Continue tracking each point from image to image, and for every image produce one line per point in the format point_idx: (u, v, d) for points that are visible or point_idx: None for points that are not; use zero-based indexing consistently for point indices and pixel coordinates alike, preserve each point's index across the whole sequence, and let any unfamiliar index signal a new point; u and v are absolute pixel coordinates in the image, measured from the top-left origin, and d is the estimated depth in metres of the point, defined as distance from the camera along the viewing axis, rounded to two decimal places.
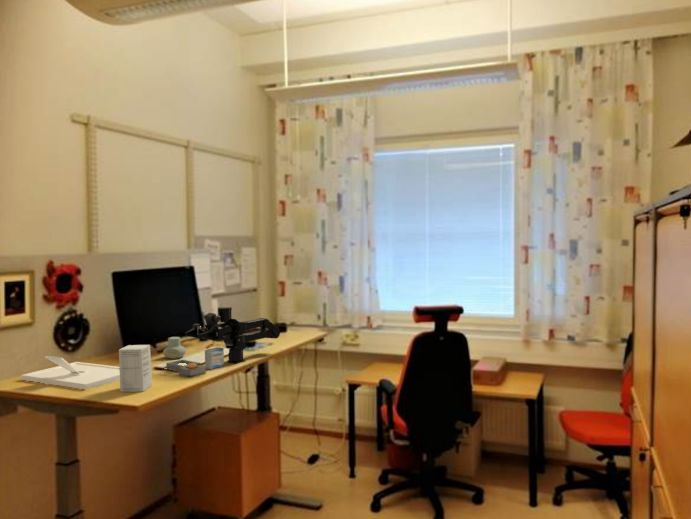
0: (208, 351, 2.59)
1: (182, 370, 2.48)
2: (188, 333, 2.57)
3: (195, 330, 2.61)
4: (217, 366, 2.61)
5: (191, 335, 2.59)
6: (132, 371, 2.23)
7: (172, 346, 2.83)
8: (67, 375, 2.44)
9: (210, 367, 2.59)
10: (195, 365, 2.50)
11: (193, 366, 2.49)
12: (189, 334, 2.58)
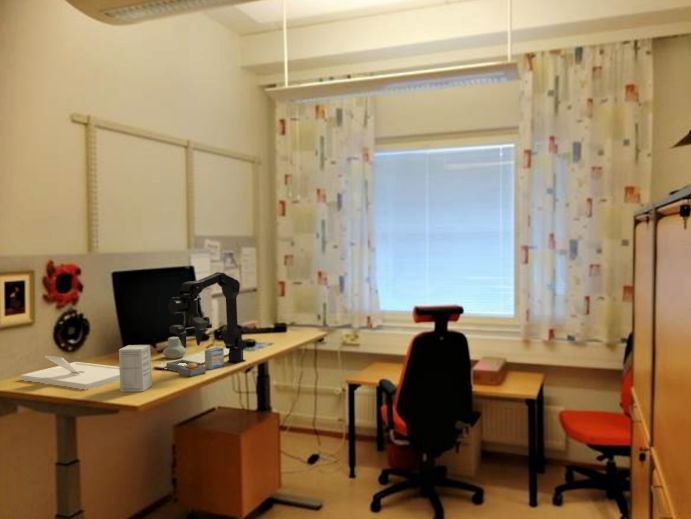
0: (208, 351, 2.59)
1: (182, 370, 2.48)
2: None
3: None
4: (217, 366, 2.61)
5: None
6: (132, 370, 2.23)
7: (172, 346, 2.83)
8: (67, 375, 2.44)
9: (210, 367, 2.59)
10: (195, 365, 2.50)
11: (193, 366, 2.49)
12: None
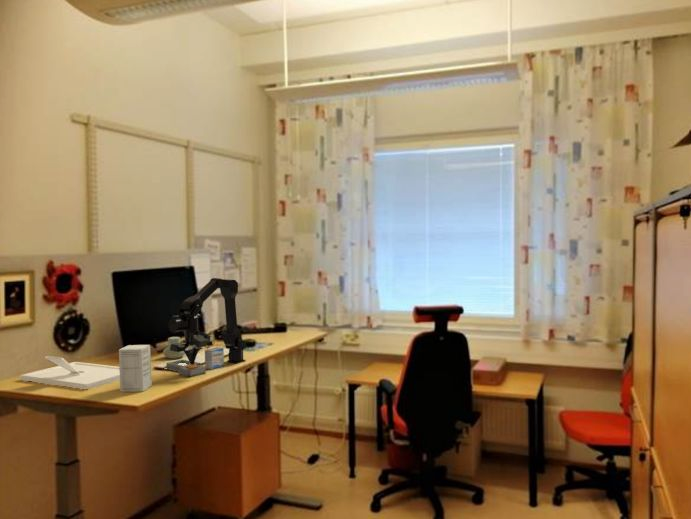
0: (208, 351, 2.59)
1: (182, 370, 2.48)
2: None
3: None
4: (217, 366, 2.61)
5: None
6: (132, 370, 2.23)
7: None
8: (67, 375, 2.44)
9: (210, 367, 2.59)
10: (195, 365, 2.50)
11: (193, 366, 2.49)
12: None
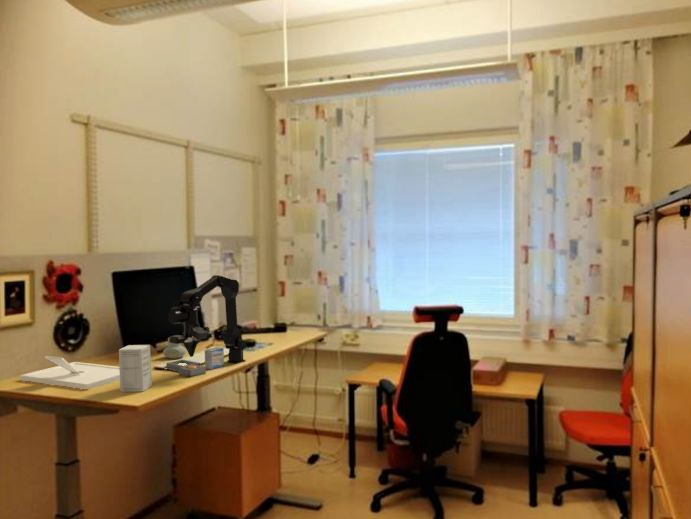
0: (208, 351, 2.59)
1: (182, 370, 2.48)
2: None
3: None
4: (217, 366, 2.61)
5: None
6: (132, 370, 2.23)
7: (172, 346, 2.82)
8: (67, 375, 2.44)
9: (210, 367, 2.59)
10: None
11: None
12: None
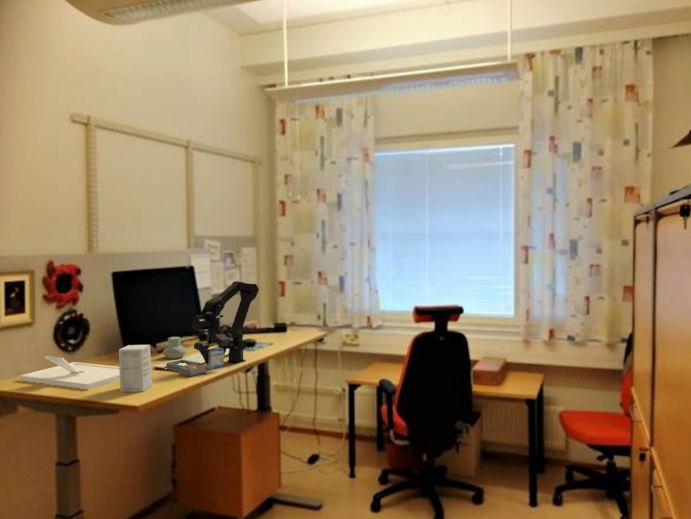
0: None
1: (182, 370, 2.48)
2: None
3: None
4: (217, 366, 2.61)
5: None
6: (132, 371, 2.23)
7: (172, 346, 2.83)
8: (67, 375, 2.44)
9: (210, 367, 2.59)
10: None
11: None
12: None
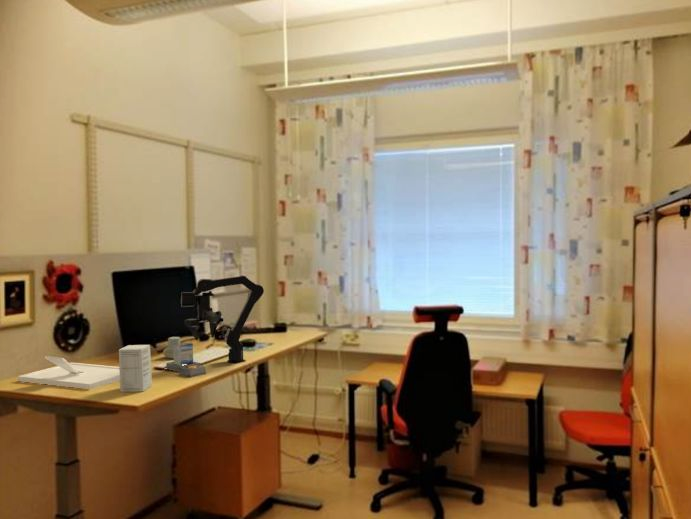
0: (176, 346, 2.59)
1: (182, 370, 2.48)
2: None
3: None
4: (186, 361, 2.61)
5: None
6: (132, 371, 2.23)
7: (172, 346, 2.83)
8: (66, 375, 2.43)
9: (178, 362, 2.58)
10: None
11: None
12: None
